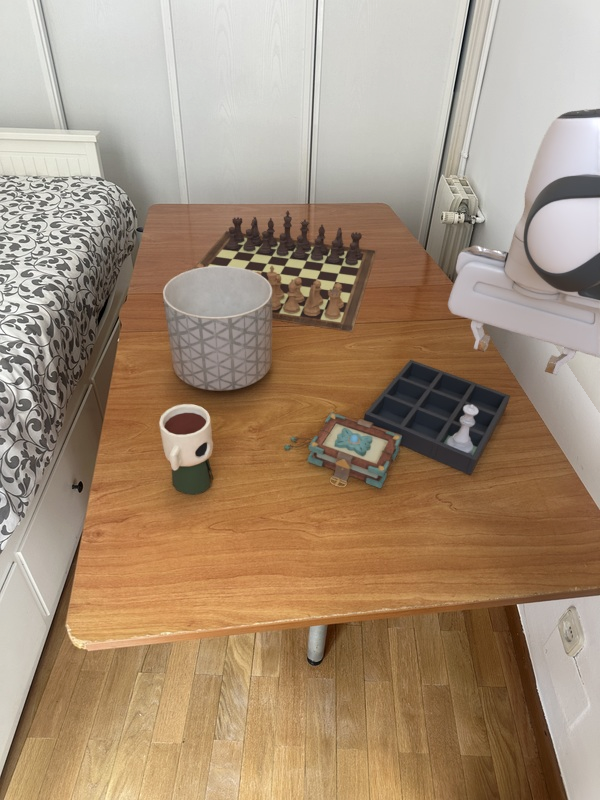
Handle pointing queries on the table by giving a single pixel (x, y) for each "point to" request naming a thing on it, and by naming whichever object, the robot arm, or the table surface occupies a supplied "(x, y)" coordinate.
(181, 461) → the character mug
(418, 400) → the grid
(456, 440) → the chess piece
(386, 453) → the decorative book
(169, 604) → the table surface
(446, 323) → the table surface
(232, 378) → the planter
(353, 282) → the chessboard
